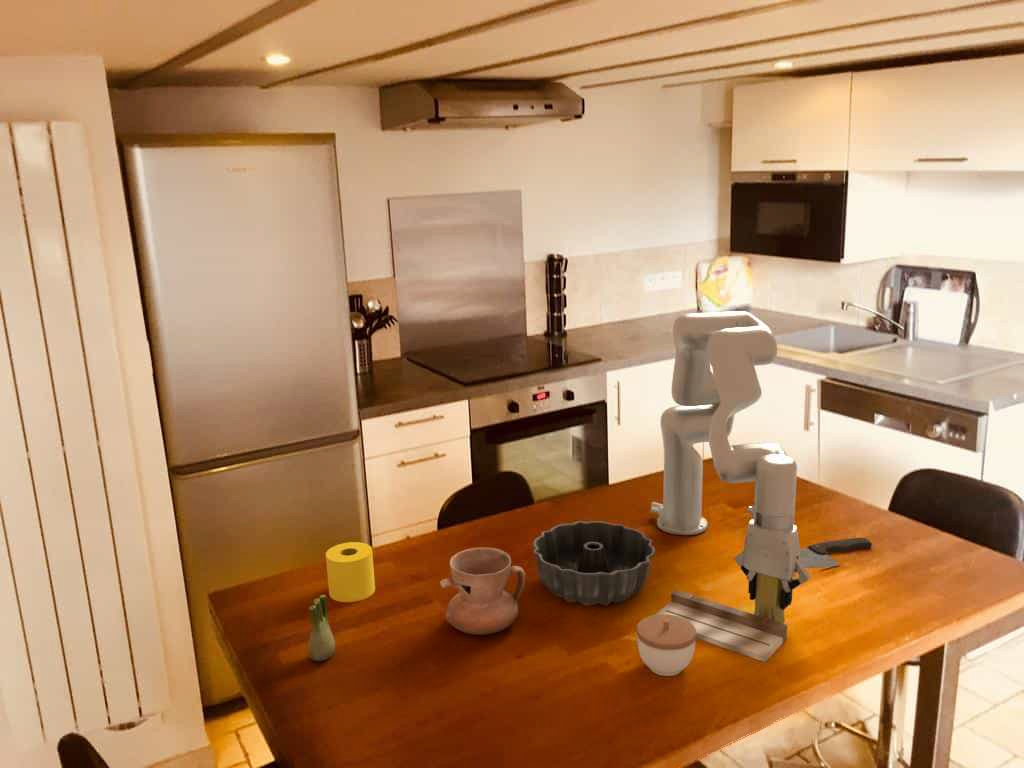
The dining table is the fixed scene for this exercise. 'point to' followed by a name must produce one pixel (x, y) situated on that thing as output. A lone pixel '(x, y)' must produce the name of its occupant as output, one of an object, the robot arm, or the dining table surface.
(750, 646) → the fence board
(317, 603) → the fennel bulb
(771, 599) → the vase
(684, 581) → the dining table surface
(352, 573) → the toilet paper roll
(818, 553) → the cleaver
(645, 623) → the lidded jar
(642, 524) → the dining table surface
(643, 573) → the bundt pan
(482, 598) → the ceramic jug
